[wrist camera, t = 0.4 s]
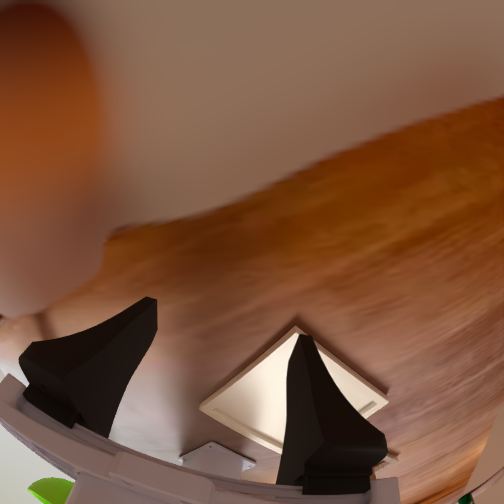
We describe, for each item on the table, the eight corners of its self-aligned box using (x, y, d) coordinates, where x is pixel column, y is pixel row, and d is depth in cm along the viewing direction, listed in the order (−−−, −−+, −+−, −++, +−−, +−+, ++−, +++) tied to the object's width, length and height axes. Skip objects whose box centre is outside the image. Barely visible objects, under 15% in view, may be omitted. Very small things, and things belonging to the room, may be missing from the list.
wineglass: (152, 481, 38) (126, 547, 21) (93, 464, 40) (63, 518, 23) (115, 436, 34) (71, 515, 17) (56, 418, 36) (12, 476, 19)
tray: (293, 452, 30) (293, 459, 29) (201, 402, 28) (198, 409, 27) (386, 395, 26) (389, 402, 25) (295, 325, 24) (296, 332, 23)
